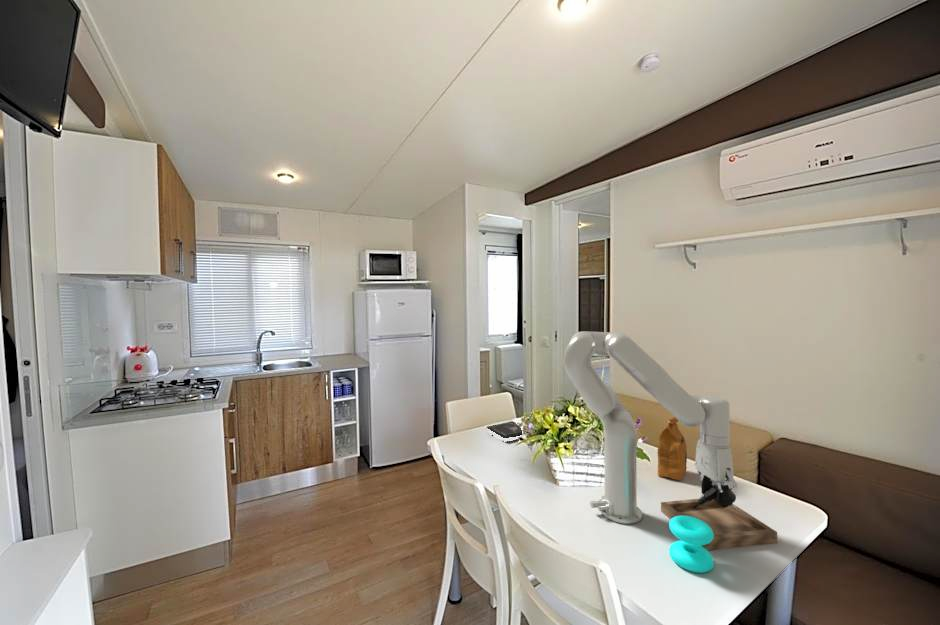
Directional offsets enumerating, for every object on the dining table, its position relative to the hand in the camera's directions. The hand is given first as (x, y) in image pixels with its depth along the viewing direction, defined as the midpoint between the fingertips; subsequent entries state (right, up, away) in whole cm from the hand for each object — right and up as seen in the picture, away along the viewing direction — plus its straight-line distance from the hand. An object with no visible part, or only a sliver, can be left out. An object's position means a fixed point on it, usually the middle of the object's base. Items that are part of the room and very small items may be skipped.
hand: (714, 498), depth 113 cm
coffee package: (+6, -8, +34) cm, 36 cm away
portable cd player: (-53, -8, +82) cm, 98 cm away
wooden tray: (0, -8, 0) cm, 8 cm away
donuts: (-16, -9, -15) cm, 24 cm away
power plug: (0, -4, +1) cm, 4 cm away
